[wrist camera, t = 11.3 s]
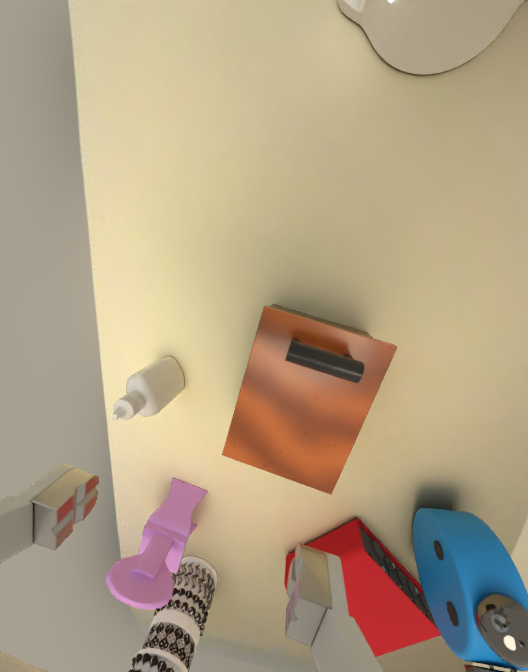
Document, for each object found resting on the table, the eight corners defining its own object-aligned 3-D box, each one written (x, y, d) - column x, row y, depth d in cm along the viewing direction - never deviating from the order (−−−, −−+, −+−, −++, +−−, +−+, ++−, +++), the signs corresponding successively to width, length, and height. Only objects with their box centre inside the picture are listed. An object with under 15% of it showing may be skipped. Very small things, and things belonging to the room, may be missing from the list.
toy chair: (158, 513, 44) (88, 627, 30) (167, 475, 42) (96, 579, 27) (201, 530, 43) (150, 656, 29) (213, 493, 41) (164, 609, 27)
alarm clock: (450, 559, 37) (543, 739, 23) (405, 554, 38) (468, 722, 24) (462, 487, 34) (578, 640, 20) (414, 483, 35) (491, 626, 21)
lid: (265, 305, 24) (255, 311, 19) (394, 344, 23) (419, 362, 18) (224, 450, 28) (207, 485, 23) (330, 488, 27) (336, 533, 22)
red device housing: (427, 593, 39) (445, 637, 34) (353, 622, 43) (360, 665, 38) (355, 515, 38) (363, 550, 33) (286, 552, 42) (284, 587, 37)
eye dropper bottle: (157, 386, 38) (94, 433, 27) (161, 353, 37) (96, 387, 25) (184, 393, 38) (131, 445, 26) (188, 360, 36) (135, 398, 25)
